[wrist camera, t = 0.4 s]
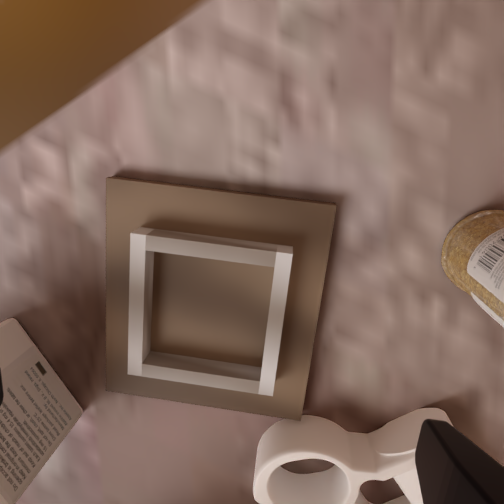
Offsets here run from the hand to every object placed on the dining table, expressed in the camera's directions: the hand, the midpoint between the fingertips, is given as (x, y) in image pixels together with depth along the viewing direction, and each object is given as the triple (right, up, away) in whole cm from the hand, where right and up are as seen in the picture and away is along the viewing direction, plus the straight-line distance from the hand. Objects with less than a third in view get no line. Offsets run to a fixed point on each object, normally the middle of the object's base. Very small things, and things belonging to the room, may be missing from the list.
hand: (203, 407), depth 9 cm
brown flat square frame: (-1, 0, +15) cm, 15 cm away
